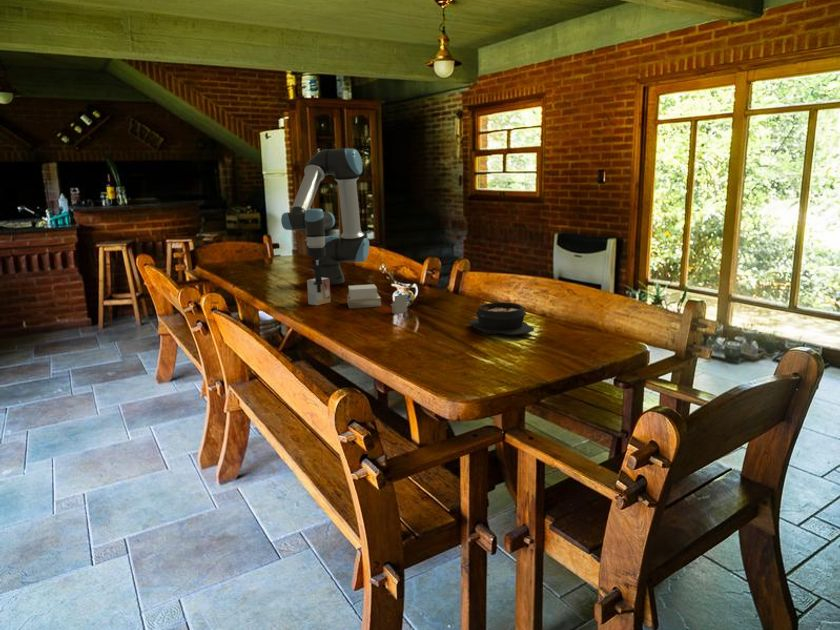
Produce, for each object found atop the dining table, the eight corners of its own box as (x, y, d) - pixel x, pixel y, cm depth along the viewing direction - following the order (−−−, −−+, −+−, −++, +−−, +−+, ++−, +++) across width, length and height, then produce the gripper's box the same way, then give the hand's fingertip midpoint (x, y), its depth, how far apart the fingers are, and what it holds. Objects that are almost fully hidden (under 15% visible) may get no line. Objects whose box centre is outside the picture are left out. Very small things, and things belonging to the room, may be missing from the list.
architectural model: (390, 313, 235) (389, 295, 233) (405, 310, 239) (404, 292, 237) (394, 315, 232) (394, 296, 231) (409, 312, 236) (409, 293, 234)
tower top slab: (348, 295, 253) (348, 285, 252) (374, 293, 255) (374, 284, 254) (350, 299, 244) (350, 289, 243) (377, 297, 246) (377, 288, 245)
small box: (317, 305, 250) (315, 281, 247) (308, 304, 253) (306, 279, 250) (331, 302, 256) (329, 278, 253) (322, 300, 259) (320, 276, 257)
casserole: (456, 328, 210) (456, 304, 208) (496, 319, 220) (496, 297, 218) (505, 343, 190) (505, 318, 188) (546, 333, 200) (547, 309, 198)
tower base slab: (347, 304, 254) (346, 294, 253) (377, 302, 256) (377, 293, 255) (349, 309, 244) (348, 300, 243) (381, 307, 246) (380, 298, 245)
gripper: (306, 243, 260) (309, 291, 265) (307, 250, 236) (310, 303, 241) (324, 243, 261) (327, 290, 266) (326, 249, 237) (329, 302, 242)
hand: (319, 296), depth 253 cm, fingers open, 13 cm apart
